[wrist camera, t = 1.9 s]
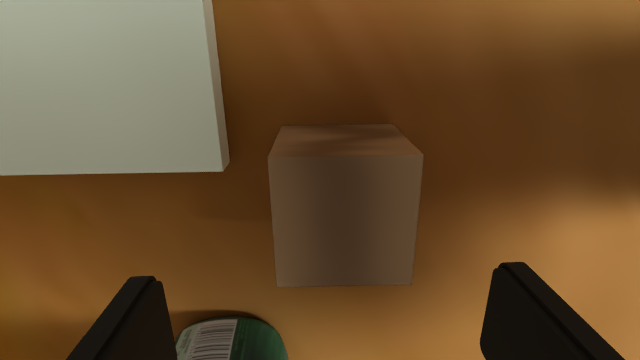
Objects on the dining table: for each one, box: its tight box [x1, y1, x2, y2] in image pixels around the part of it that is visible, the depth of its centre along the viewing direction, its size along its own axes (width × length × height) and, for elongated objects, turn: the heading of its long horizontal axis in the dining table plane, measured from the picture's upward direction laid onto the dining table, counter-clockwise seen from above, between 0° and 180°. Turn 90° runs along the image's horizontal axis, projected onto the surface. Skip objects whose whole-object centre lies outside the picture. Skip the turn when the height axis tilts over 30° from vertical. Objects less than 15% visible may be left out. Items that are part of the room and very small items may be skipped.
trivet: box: [0, 0, 230, 175], centre depth 17 cm, size 12×12×2 cm
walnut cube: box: [267, 124, 424, 287], centre depth 17 cm, size 6×6×6 cm
